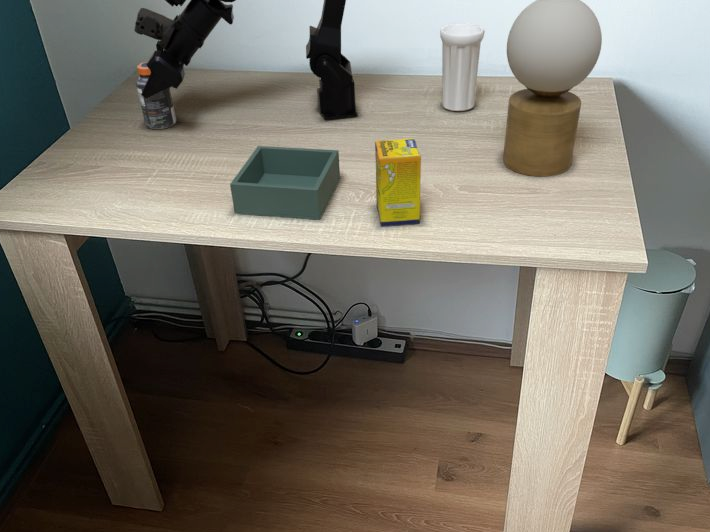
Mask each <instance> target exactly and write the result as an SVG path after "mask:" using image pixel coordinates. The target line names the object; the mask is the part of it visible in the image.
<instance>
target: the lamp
mask: <svg viewBox="0 0 710 532" xmlns="http://www.w3.org/2000/svg"><path fill="white" fill-rule="evenodd" d="M602 36H603V35H602V30H601V25H600V22H599V19H598V17H597V16H596V14H595V12H594V11H593V9H591V8H590V6H589V5H587V4H586V3H585V2H584V1H582V0H534V1H532V2H531V3H530V4H528V5H527V6H526V7H525V8H524V9H522V11H521V12H520V13H519V14H518V15H517V16H516V18H515V20H514V22H513V23H512V25H511V28H510V30H509V32H508V35H507V41H506V58H507V63H508V66H509V70H510V71H511V73H512V75H513V77H514V78H515V79H516V80H517V81H518V82H519V83H520V84H521V85H522V86H524V87H525V88H524V89H520V90H517V91H515V92H513V93H512V94H511V95H510V96H509V98H508V106H507V113H506V114H507V115H506V124H505V134H504V135H505V137H504V145H503V155H502V160H503V164H504V165H505V167H506V168H508V169H509V170H511V171H513V172H515V173H518V174H520V175H525V176H529V177H551V176H556V175H560V174H562V173H564V172H566V171H568V170H569V169H570V168H571V166H572V162H573V156H574V151H575V145H576V137H577V132H578V126H579V120H580V114H581V109H582V99H581V98H580V97H579V96H578V95H577V94H575V93H573V92H571V90H572V89H574V88H575V87H577V86H579V85H580V84H581V83H582V82H583V81H584V80H585V79H586V78H588V76H589V75H590V74H591V73H592V71H594V70H593V69H594V68H595V66H596V65H597V62H598V60H599V57H600V54H601V50H602V43H603V38H602Z"/></svg>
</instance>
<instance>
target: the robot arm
mask: <svg viewBox="0 0 710 532" xmlns="http://www.w3.org/2000/svg"><path fill="white" fill-rule="evenodd" d="M164 1H165V2H166V3H167V4H168V5H170V6H171V7H174V6H175V7H178V6H180V7H182V6H183V5H184V4H185V2H186V1H187V0H164ZM236 1H237V0H189V2H188V3H187V5H186V6H185V7H184V9H183V10H182V12H181V13H180V14H179V15H178V14H176V15H175V17H174V18H173V19H171V18H169V17H167V16H166V15H164V14H160V13H159V12H156V11H154V10H151V9H148V8H145V7H140V9H139V10H138V12H137V15H136V20H135V25H134V32H135V33H136V34H138V35H144V36H146V37H149V38H152V39H154V40H157V42H156V43H155V47H156V50H154V51H153V53H152V54H151V56H150V57H149V59H148V61H147V62H148V63H147V67H148V68H149V69H150V71H151V74H150V76H149V78H148V81H147V83H146V85H145V87H144V89H143V92H142V94H141V95H142V96H143V97H144V98H148V97H151V96H153V95H155V94H157V93H159V92H161V91H163V90H165V89H168V88H170V89H171V88H173V89H176V90H177V89H178V88H179V87H180V85H181V84H182V83H183V81H184V78H185V76H186V72H185V67H184V66H186V67H188V66H189V64H190V63H191V61H192V58H193V57H194V56H195V54H196V53H197V52H198V50H199V49H201V48H202V47H203V46H204V44H205V41H206V40H207V38H208V37H209V36H210V34H211V33H212V31H214V29H215V27H216V26H217V24H218V23H220V21H221V19H223V20H224V21H225V22H226V23H227V24H228V25H233V24H234V19H235V16H234V11H233V9H234V4H232V3H233V2H236ZM226 3H230V4H226ZM346 3H347V0H323V5H322V10H321V16H320V19H319V21H318V24H317V26H316V27H315V26H312V25H309V38H308V42H307V44H306V45H305V57H306V59H307V60H308V59H309V60H308V62H309V64H308V65H309V68H310V71H311V72H312V74H313V75H315V76H316V77H317V78H320V79H319V80H318V81H319V82H318V83H319V87H317V89H316V95H317V97H316V98H317V110H318V112H319V113H320V114H321V115H322V117H323V119H324V120H325V121H330V120H338V119H347V118H353V117H358V115H359V114H358V112H357V109H356V89H355V86H356V85H355V80H354V75H353V69H352V65H351V60H349V59H348V58H347V57H346V56H345V55H344V54H342V24H343V19H344V14H345V9H346Z"/></svg>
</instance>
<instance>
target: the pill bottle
mask: <svg viewBox="0 0 710 532" xmlns="http://www.w3.org/2000/svg"><path fill="white" fill-rule="evenodd" d="M147 63H148V61H144V62H140V63H139V64H138V65H137V73H138V74H139V75H138V76H136V78H135V86H136V91H137V95H138V99H139V103H140V108H141V111H142V116H143V120H144V124H145V126H146V127H147V128H148V129H153V130H162V129H167V128H171V127H172V126H174V125H175V124H176V123H177V116H176V112H175V107H174V102H173V97H172V93H171V87H170V88H168V89H165V90H163V91H161V92H159V93H157V94H155V95H153V96H151V97H148V98H144V97H143V96H142V95H141V94H142V92H143V89H144V87H145V85H146V83H147V81H148V78H149V76H150V74H151V71H150V69H149V68H148V67H147Z"/></svg>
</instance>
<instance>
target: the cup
mask: <svg viewBox="0 0 710 532" xmlns="http://www.w3.org/2000/svg"><path fill="white" fill-rule="evenodd" d="M485 31H486V30H485V29H484V27H483V26H481V25H479V24H476V23H470V22H469V23H468V22H456V23H450V24H447V25H444V26H442V27H441V28H440V30H439V35H440V39H441V47H442V48H441V49H442V51H441V52H442V54H441V55H442V56H441V60H442V62H441V63H442V66H441V67H442V68H441V69H442V72H441V73H442V75H441V76H442V80H441V81H442V88H441V89H442V102H441V103H442V104H441V105H442V107H443V108H444V109H446V110H449V111H454V112H455V111H456V112H461V111H467V110H468V111H469V110H471V109H472V108H474V107H475V105H476V104H475V102H476V92H477V83H478V82H477V81H478V80H477V79H478V72H479V63H480V53H481V44H482V41H483V40H484V36H485Z"/></svg>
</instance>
